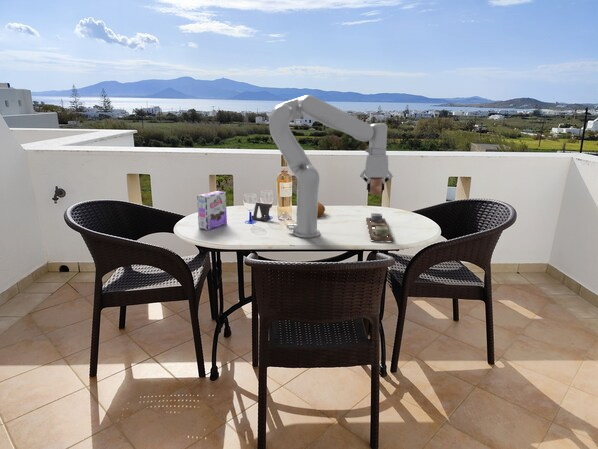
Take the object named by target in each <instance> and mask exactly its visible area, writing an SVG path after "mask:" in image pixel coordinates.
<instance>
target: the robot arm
mask: <svg viewBox="0 0 598 449" xmlns="http://www.w3.org/2000/svg"><path fill="white" fill-rule="evenodd" d="M303 117H308V118H310V119H312V120H313V121H314V120H315V121H316V122H318V123H319V124H323V125H324V126H326V127H327V128H330V129H333V130H336V131H339V132H342V133H345V134H346V135H349V136H351V137H352V138H353V139H355V140H357V141H360V142H369V143H368V148H366V149H365V153H368V154H367V155H366V160H365V167H364V170H363V171H362V172H361V173H360V175H359V177H360V178H361V179H362V180H363V181H364V182H365V183H366V191H367V192H368V193H370V180H371V178H382V189H381V194H382V193H383V191H385V184H386V183H387V182H388V181H389V180H391V179H392V178H393V176H394V175H393V174H392V173H391V171H390V170H389V156H388V154H387V142H388V141H387V140H388V139H387V138H388V125H387V123H383V122H381V123H380V122H378V123H377V122H375V123H367V122H365V121H363V120H361V119H360V118H357V117H355V116H353V115H351V114H349V113H347V112H345V111H344V110H342V109H340V108H338V107H336V106H334V105H331V104H330V103H328V102H326V101H324V100H321V99H319V98H318V97H316V96H314V95H311V94H306V95H303V96H302V95H301V96H300V97H297V98H293V99H291V100H287V101H284V102H282V103H278V104H277V105H275V106H274V107H273V109H272V112H271V116H270V118H269V125H268V128H269V134H270V136H271V138H272V140H273V142H274V143H275V145H276V147H277V148H278V150H279V152H280V154H281V155H282V156H283V160H284V161H285V162H286V165H287V166H288V167H289V169H290V171H291V172H292V173H293V175H294V176H295V178H296V180H297V188H296V189H297V190H296V222H295V223H294V224H291V223H290V224H289V223H287V224H286V228H287V229H288V230H293V231H292V234H293V235H294V236H296V237H298V238H303V239H305V238H306V239H307V238H308V239H309V238H311V239H312V238H316V237H319V236H320V235H321V231H320V230H319V229H318V218H317V211H318V202H319V187H320V174H319V171H318V170H317V169H316V167H315V166H314V165H313V164H312V162H311V161H310V160H309V158H308V156H307V154H306V152H305V150H304V148H303V147H302V146H301V145H300V144H299V142H298V140H297V139H296V137H295V136H294V133H293V132H292V130H291V128H290V123H291V122H292V121H295V120H297V119H300V118H303Z"/></svg>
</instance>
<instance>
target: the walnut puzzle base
mask: <svg viewBox="0 0 598 449" xmlns="http://www.w3.org/2000/svg"><path fill="white" fill-rule="evenodd" d="M370 214H371V215H370V217H365V219H366V220H365V222H366V221H367V223H366V226H367V225H368V227H367V230H368V229H369V231H368V234H370V235H369V238H371V239H370V241H371V240H374V241H393V242H394V236H393V234H392V233H391V229H390V228H389V225H388V223H387V221H386V218H385V217H384V218H383V214H382V213H373V212H372V213H370ZM370 221H371V222H370ZM372 227H375V229H372ZM374 235H375V236H374ZM387 236H388V237H387Z"/></svg>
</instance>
